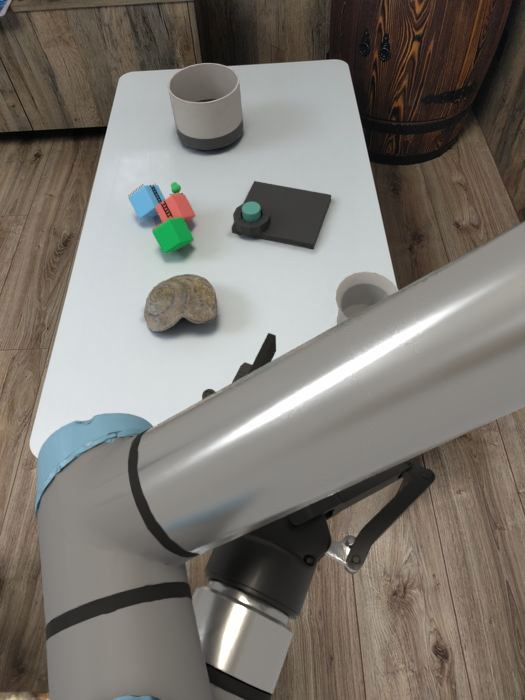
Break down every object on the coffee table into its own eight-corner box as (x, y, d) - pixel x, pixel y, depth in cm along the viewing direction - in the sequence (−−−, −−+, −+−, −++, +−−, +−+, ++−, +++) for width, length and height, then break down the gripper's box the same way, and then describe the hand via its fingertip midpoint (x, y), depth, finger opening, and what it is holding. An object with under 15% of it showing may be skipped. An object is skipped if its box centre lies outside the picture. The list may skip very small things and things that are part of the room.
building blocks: (174, 257, 87) (141, 194, 86) (208, 236, 83) (174, 169, 82) (146, 265, 80) (110, 197, 79) (182, 242, 76) (144, 169, 75)
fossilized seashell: (174, 266, 77) (173, 248, 71) (230, 305, 77) (234, 291, 71) (132, 320, 75) (126, 306, 68) (190, 360, 75) (190, 351, 68)
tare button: (263, 211, 82) (262, 203, 80) (257, 224, 80) (257, 215, 79) (246, 208, 83) (245, 199, 81) (240, 220, 81) (239, 212, 80)
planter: (215, 107, 103) (208, 55, 94) (257, 134, 97) (254, 81, 88) (165, 135, 98) (153, 83, 90) (206, 165, 93) (197, 112, 84)
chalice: (323, 358, 69) (333, 272, 54) (372, 357, 69) (396, 270, 54) (326, 405, 66) (338, 327, 50) (378, 405, 65) (406, 326, 50)
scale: (331, 200, 86) (332, 186, 84) (311, 253, 80) (312, 240, 78) (254, 186, 89) (253, 172, 87) (229, 236, 83) (228, 223, 80)
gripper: (114, 542, 42) (222, 345, 52) (408, 682, 36) (466, 428, 46) (84, 520, 36) (214, 300, 46) (435, 685, 30) (494, 390, 40)
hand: (340, 364), depth 46 cm, fingers open, 13 cm apart
